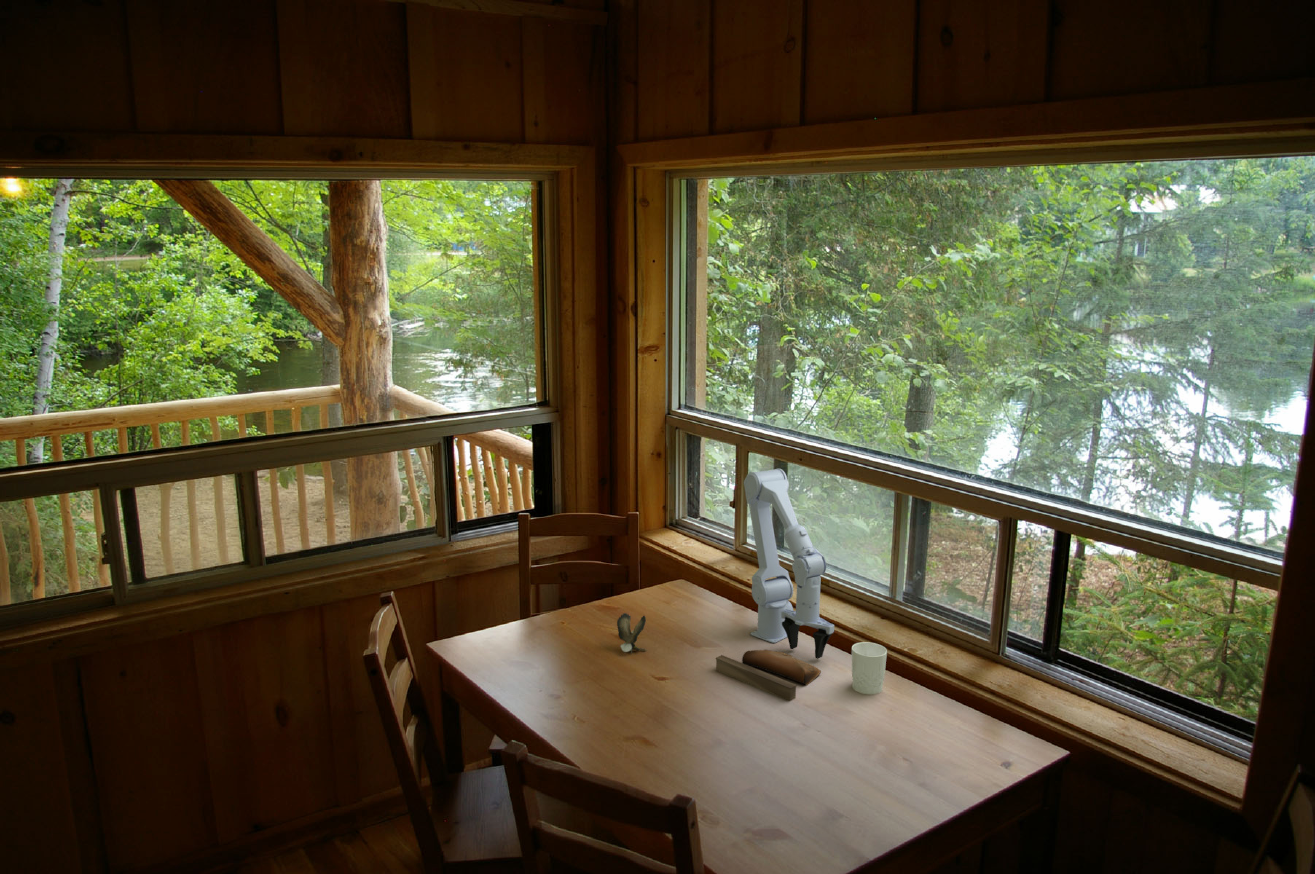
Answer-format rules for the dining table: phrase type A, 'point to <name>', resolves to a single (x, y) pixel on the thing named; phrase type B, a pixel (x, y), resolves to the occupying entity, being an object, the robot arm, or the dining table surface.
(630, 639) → the eagle figurine
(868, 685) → the white cup
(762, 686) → the walnut stop rail
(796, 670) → the sunglasses case
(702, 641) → the dining table surface
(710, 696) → the dining table surface
